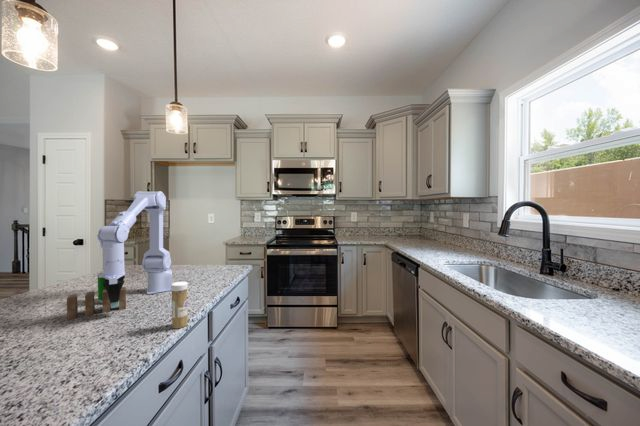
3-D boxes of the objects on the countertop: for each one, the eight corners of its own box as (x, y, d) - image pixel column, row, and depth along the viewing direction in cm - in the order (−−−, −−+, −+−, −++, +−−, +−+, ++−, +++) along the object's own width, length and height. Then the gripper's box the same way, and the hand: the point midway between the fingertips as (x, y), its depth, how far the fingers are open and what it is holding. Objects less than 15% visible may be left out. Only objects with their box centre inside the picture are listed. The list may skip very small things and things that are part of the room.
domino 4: (126, 305, 98) (125, 286, 98) (125, 308, 95) (125, 289, 95) (119, 306, 97) (118, 287, 97) (119, 310, 94) (118, 290, 93)
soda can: (127, 298, 105) (126, 269, 105) (106, 305, 98) (105, 274, 97) (114, 296, 107) (113, 268, 107) (93, 303, 100) (92, 272, 100)
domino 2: (94, 310, 93) (94, 291, 93) (93, 314, 89) (92, 294, 89) (87, 312, 92) (86, 292, 92) (85, 316, 88) (85, 295, 88)
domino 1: (77, 313, 90) (77, 293, 90) (75, 318, 87) (75, 297, 87) (69, 315, 89) (69, 295, 89) (67, 319, 86) (66, 298, 86)
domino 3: (110, 307, 96) (110, 289, 96) (110, 311, 92) (109, 292, 92) (103, 309, 95) (103, 290, 94) (102, 313, 91) (102, 293, 91)
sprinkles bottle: (185, 328, 80) (185, 284, 79) (169, 329, 79) (168, 285, 78) (189, 321, 84) (189, 280, 84) (174, 323, 83) (173, 281, 83)
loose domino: (119, 302, 92) (118, 283, 91) (118, 306, 88) (117, 286, 88) (111, 304, 90) (111, 284, 90) (110, 308, 87) (110, 287, 87)
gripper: (100, 258, 92) (101, 296, 93) (96, 266, 80) (97, 309, 81) (125, 256, 96) (126, 292, 97) (124, 263, 85) (125, 304, 85)
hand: (114, 299), depth 89 cm, fingers closed on loose domino, 4 cm apart
